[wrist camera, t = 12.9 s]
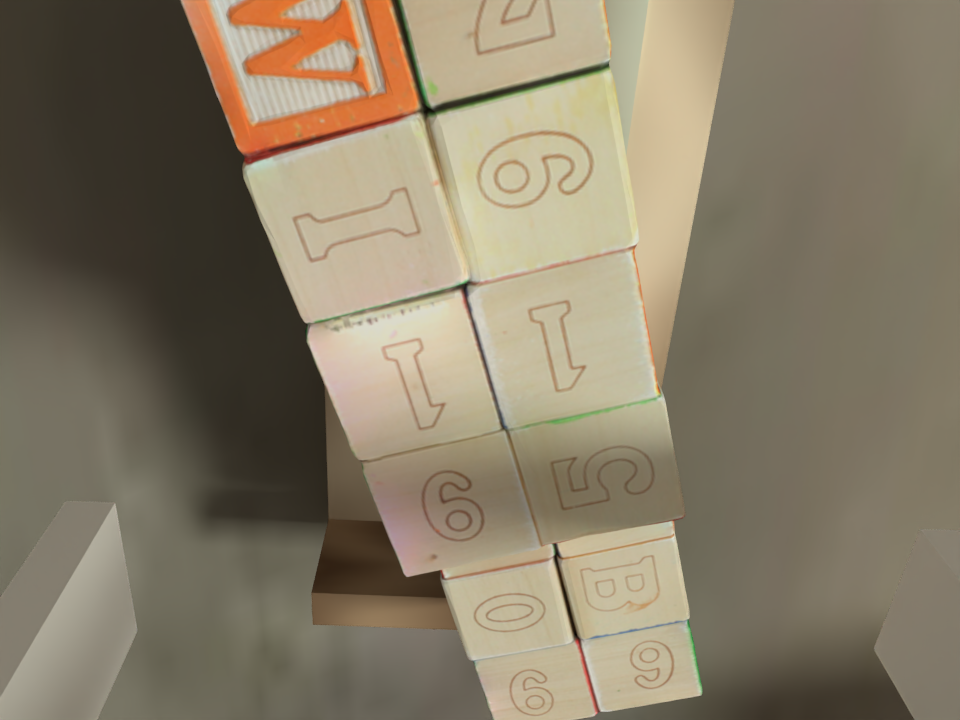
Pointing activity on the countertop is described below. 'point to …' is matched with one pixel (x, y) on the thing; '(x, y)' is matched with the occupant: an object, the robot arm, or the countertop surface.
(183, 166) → the countertop surface
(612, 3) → the cradle
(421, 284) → the stack of blocks
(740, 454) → the countertop surface
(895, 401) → the countertop surface
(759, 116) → the countertop surface
